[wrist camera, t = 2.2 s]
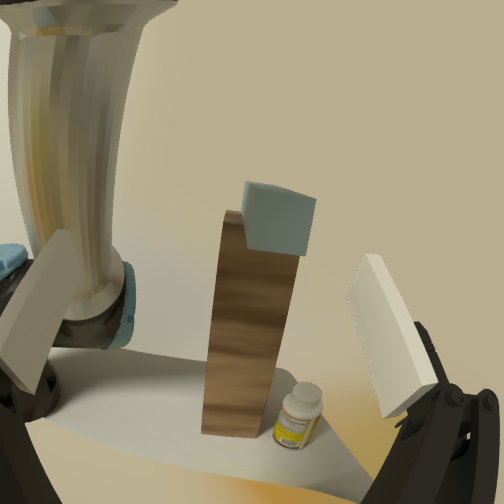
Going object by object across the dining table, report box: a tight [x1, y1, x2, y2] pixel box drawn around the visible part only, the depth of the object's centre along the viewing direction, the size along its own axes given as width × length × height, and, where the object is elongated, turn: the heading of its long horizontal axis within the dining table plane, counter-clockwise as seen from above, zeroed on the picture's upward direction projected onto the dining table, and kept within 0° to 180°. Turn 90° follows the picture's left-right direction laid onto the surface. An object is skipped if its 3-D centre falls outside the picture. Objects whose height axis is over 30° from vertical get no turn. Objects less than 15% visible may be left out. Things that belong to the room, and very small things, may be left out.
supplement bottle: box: [273, 382, 323, 450], centre depth 36 cm, size 6×6×10 cm
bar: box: [241, 181, 316, 256], centre depth 30 cm, size 22×4×4 cm, turn 3°
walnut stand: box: [201, 210, 300, 438], centre depth 37 cm, size 10×8×30 cm
